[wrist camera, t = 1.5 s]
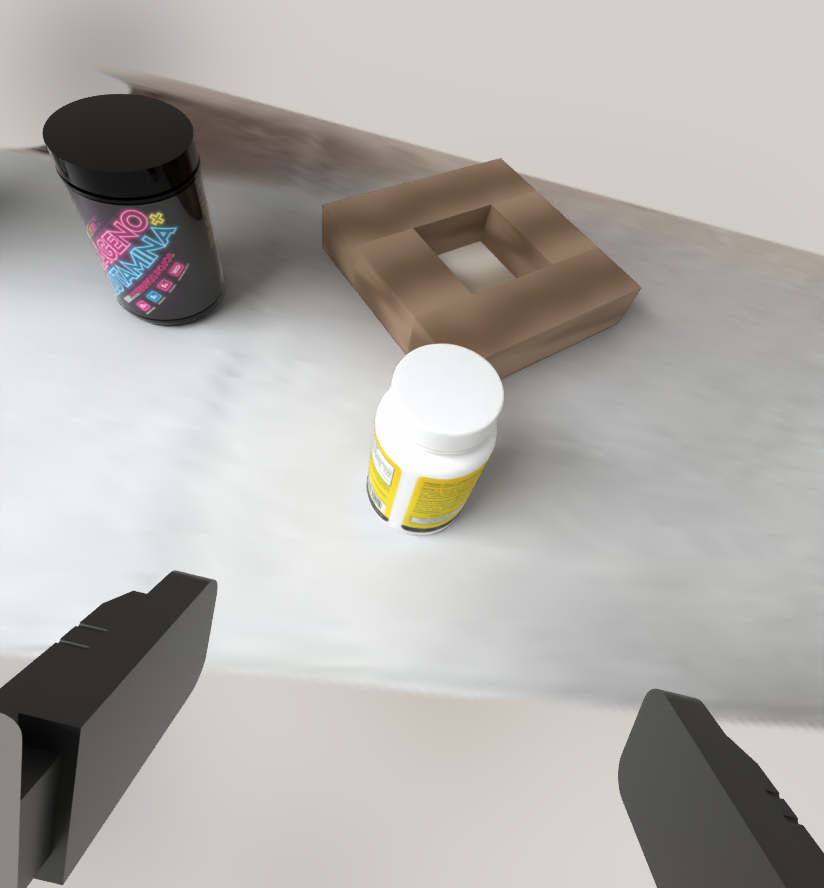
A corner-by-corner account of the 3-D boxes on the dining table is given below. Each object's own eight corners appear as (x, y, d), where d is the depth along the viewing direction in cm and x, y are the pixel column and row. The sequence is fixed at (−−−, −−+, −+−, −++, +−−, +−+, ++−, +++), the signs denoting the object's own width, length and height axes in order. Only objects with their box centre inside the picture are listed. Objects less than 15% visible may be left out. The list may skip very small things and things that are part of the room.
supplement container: (98, 279, 34) (18, 110, 25) (196, 245, 37) (155, 83, 28) (146, 346, 32) (77, 187, 23) (246, 305, 34) (219, 149, 26)
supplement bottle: (478, 478, 30) (536, 373, 22) (436, 556, 27) (485, 470, 19) (395, 433, 31) (420, 315, 23) (346, 505, 28) (355, 401, 20)
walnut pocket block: (322, 247, 38) (322, 204, 35) (489, 198, 45) (500, 158, 42) (445, 405, 33) (457, 370, 30) (617, 323, 39) (641, 287, 36)
